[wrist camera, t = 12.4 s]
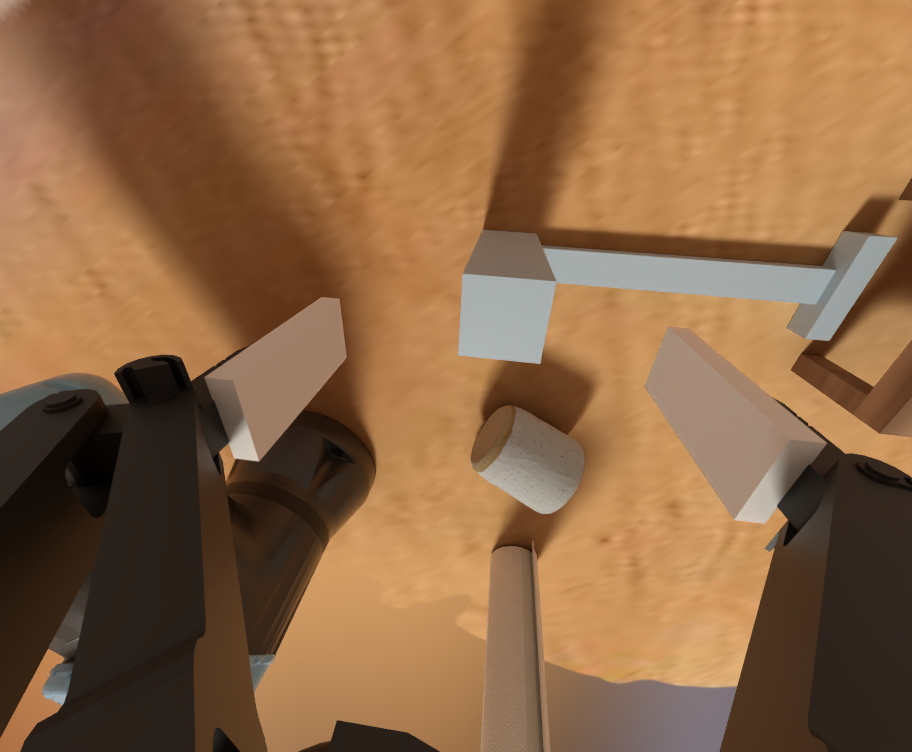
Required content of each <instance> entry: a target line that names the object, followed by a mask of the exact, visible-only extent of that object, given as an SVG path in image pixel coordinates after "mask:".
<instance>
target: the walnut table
mask: <svg viewBox="0 0 912 752" xmlns="http://www.w3.org/2000/svg"><path fill="white" fill-rule="evenodd" d="M899 200H911V201H912V180H911V181H910V183H909V184H908V186H907V187H906V189H905V191H904V192H903V194H902V195H901V197H900V199H899ZM791 371H793V372H794V373H796V374H797V375H798V376H800V377H801V378H803V379H804V380H805V381H807V382H808V383H810V384H811V385H812V386H814V387H815V388H817V389H818V390H819V391H821V392H822V393H824V394H825V395H826V396H828V397H829V398H831V399H832V400H833V401H835V402H836V403H838V404H839V405H840V406H842V407H843V408H845V409H846V410H847V411H849V412H850V413H852V414H853V415H854V416H856V417H857V418H859V419H860V420H861V421H863V422H864V423H866V424H867V425H868V426H870V427H871V428H873V429H874V430H875V431H877V432H878V433H880V434H888V435H897V436H906V437H912V340H911V342H910V343H909V344H908V345H907V347H906V348H905V349H904V350H903V352H902V353H901V354H900V355H899V357H898V358H897V359H896V360H895V362H894V363H893V364H892V365H891V367H890V368H889V369H888V371H887V372H886V373H885V374H884V376H883V377H882V378H881V379H880V381H879V382H878V383H877V384H876V386H875V387H873V386H871V385H869V384H868V383H866V382H864V381H863V380H861V379H859V378H858V377H856V376H854V375H853V374H851V373H849V372H848V371H846V370H844V369H843V368H841V367H839V366H838V365H836V364H834V363H833V362H831V361H829V360H828V359H826V358H824V357H823V356H817V355H807V354H801V355H800V357H799V358H798V360H797V361H796V363H795V365H794V366H793V368H792V369H791Z"/></svg>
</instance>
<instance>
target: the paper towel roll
mask: <svg viewBox="0 0 912 752" xmlns="http://www.w3.org/2000/svg"><path fill="white" fill-rule="evenodd" d="M485 660H486V661H485V678H484V679H485V680H484V699H483V718H482V740H481V752H550V739H549V725H548V710H547V695H546V681H545V667H544V652H543V637H542V623H541V609H540V594H539V580H538V565H537V554H536V552H535V550H534V542H533V540H532V553H531V552H530V551H529V550H526V549H524V548H522V547H516V546H504V547H501V548H498V549H496V550H495V551H494V552H493V553H492V555H491V560H490V579H489V599H488V619H487V639H486V658H485Z"/></svg>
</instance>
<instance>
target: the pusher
mask: <svg viewBox="0 0 912 752" xmlns="http://www.w3.org/2000/svg"><path fill="white" fill-rule="evenodd" d="M896 240H897V237H891V236H885V235H880V234H874V233H867V232H852V231H843V232H842V233H841V235H840V237H839V239H838V240H837V242H836V244H835V246H834V247H833V249H832V251H831V252H830V254H829V256H828V258H827V259H826V261H825V263H824V264H823V266H816V265H802V264H789V263H775V262H762V261H748V260H735V259H721V258H708V257H694V256H681V255H667V254H654V253H640V252H627V251H613V250H600V249H586V248H573V247H559V246H546V245H541V243H540V240H539V238H538V235H537V233H525V232H510V231H496V230H482V233H481V235H480V237H479V239H478V241H477V244H476V246H475V248H474V250H473V252H472V255H471V257H470V259H469V261H468V263H467V266H466V268H465V270H464V272H463V279H462V297H461V314H460V332H459V349H458V355H459V356H469V357H478V358H488V359H498V360H507V361H517V362H526V363H536V364H540V363H541V357H542V352H543V347H544V342H545V337H546V332H547V327H548V322H549V317H550V312H551V307H552V302H553V297H554V292H555V287H556V283H564V284H576V285H588V286H600V287H612V288H624V289H636V290H648V291H660V292H672V293H683V294H695V295H707V296H719V297H731V298H743V299H755V300H767V301H779V302H791V303H801V304H800V306H799V307H798V309H797V311H796V313H795V314H794V316H793V318H792V319H791V321H790V323H789V325H788V326H787V329H789V330H791V331H793V332H794V333H796V334H798V335H800V336H801V337H803V338H805V339H813V340H824V341H830V339H831V338H832V336H833V335H834V333H835V332H836V330H837V329H838V327H839V326H840V324H841V323H842V321H843V320H844V318H845V317H846V315H847V314H848V312H849V311H850V309H851V308H852V306H853V305H854V303H855V302H856V300H857V299H858V297H859V296H860V294H861V293H862V291H863V289H864V288H865V286H866V285H867V283H868V282H869V280H870V279H871V277H872V276H873V274H874V273H875V271H876V270H877V268H878V267H879V265H880V264H881V262H882V261H883V259H884V258H885V256H886V255H887V253H888V252H889V250H890V249H891V247H892V246H893V244H894V243H895V241H896Z"/></svg>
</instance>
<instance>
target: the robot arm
mask: <svg viewBox="0 0 912 752" xmlns="http://www.w3.org/2000/svg"><path fill="white" fill-rule="evenodd" d="M346 358H347V355H346V347H345V339H344V331H343V323H342V315H341V307H340V299H338V298H327V297H321V298H320V299H318V300H317V301H315V302H314V303H312V304H311V305H309V306H308V307H306V308H305V309H303V310H302V311H301V312H299V313H298V314H296V315H295V316H293V317H292V318H290V319H289V320H287V321H286V322H284V323H283V324H281V325H280V326H279V327H277V328H276V329H274V330H273V331H271V332H270V333H268V334H267V335H265V336H264V337H262V338H261V339H260V340H258V341H257V342H255V343H254V344H252V345H250V346H248V347H245V348H243V349H240V350H238V351H236V352H234V353H233V354H231V355H230V356H228V357H227V358H226V360H222V361H221V362H219V363H218V364H216V366H213V367H212V368H210V369H209V370H207V371H206V372H204V373H203V374H201V375H200V376H198V377H197V378H195V379H194V380H192V381H191V380H190V378H189V375H188V373H187V370H186V368H185V365H184V363H183V361H182V359H181V358H180V357H177V356H174V355H158V356H150V357H146V358H142V359H138V360H135V361H132V362H130V363H127V364H125V365H124V366H122V367H120V368H118V370H117V371H116V372H115V373H114V375H115V377H116V378H117V380H118V382H119V384H120V386H121V388H122V390H123V392H124V393H123V392H122V391H120V390H119V389H118V388H117V387H116V386H115V385H114V384H113V383H111V382H110V381H108V380H106V379H105V378H102V377H100V376H97V375H92V374H87V373H71V374H65V375H61V376H57V377H53V378H50V379H46V380H43V381H40V382H37V383H34V384H31V385H27V386H24V387H21V388H18V389H15V390H12V391H9V392H6V393H3V394H0V737H1V736H2V734H3V732H4V730H5V728H6V726H7V724H8V722H9V721H10V719H11V717H12V715H13V713H14V711H15V709H16V708H17V706H18V704H19V702H20V700H21V698H22V696H23V694H24V693H25V690H26V689H27V687H28V685H29V683H30V681H31V679H32V678H33V676H34V674H35V672H36V670H37V668H38V666H39V664H40V662H41V661H42V659H43V657H44V655H45V653H46V651H47V650H48V649H50V650H52V651H54V652H56V653H58V654H59V655H61V656H63V657H64V661H63V662H62V663H61V664H57V665H56V666H55V667H54V668H53V669H52V670H51V671H50V676H49V678H48V679H47V681H46V683H45V684H44V686H43V689H42V694H43V696H44V697H45V698H46V699H52V700H53V701H54V702H57V703H58V704H60V705H62V707H61V708H60V709H59V711H58V712H57V713H55V714H53V715H52V716H50V717H48V718H46V719H45V720H43V721H41V722H39V723H37V725H36V726H35V727H34V729H33V730H32V731H31V733H30V734H29V736H28V737H27V738H26V740H25V741H24V744H23V747H22V749H21V752H268V751H267V746H266V742H265V738H264V734H263V731H262V728H261V725H260V721H259V718H258V714H257V710H256V704H255V698H254V692H255V690H256V688H257V686H258V684H259V683H260V681H261V679H262V677H263V675H264V673H265V672H266V670H267V668H268V666H269V664H271V663H272V662H273V661H274V659H275V656H276V652H277V650H278V648H279V646H280V644H281V642H282V640H283V638H284V635H285V633H286V631H287V629H288V627H289V625H290V623H291V620H292V618H293V616H294V614H295V612H296V610H297V608H298V606H299V604H300V601H301V599H302V597H303V595H304V593H305V591H306V589H307V587H308V584H309V582H310V580H311V578H312V576H313V574H314V572H315V570H316V567H317V565H318V563H319V561H320V559H321V557H322V554H323V552H324V550H325V548H326V546H327V544H328V542H329V540H330V539H331V538H332V537H333V535H334V534H335V533H336V532H337V531H338V530H339V529H340V528H341V527H342V526H343V525H344V524H345V523H346V522H347V521H348V520H349V519H350V518H351V516H352V515H353V514H354V513H355V512H356V511H357V510H358V509H359V508H360V507H361V506H362V505H363V503H364V502H365V500H366V499H367V497H368V494H369V492H370V490H371V487H372V485H373V483H374V479H375V467H374V463H373V460H372V458H371V455H370V453H369V452H368V450H367V448H366V447H365V446H364V444H363V443H362V442H361V441H360V440H359V439H358V438H357V437H356V436H355V435H354V434H353V433H352V432H351V431H349V430H348V429H347V428H345V427H344V426H342V425H341V424H339V423H337V422H335V421H334V420H332V419H329V418H327V417H325V416H322V415H319V414H316V413H312V412H308V411H302V410H303V409H304V408H305V407H306V405H307V404H308V403H309V402H310V401H311V400H312V398H313V397H314V396H315V395H316V394H317V392H318V391H319V390H320V389H321V388H322V386H323V385H324V384H325V383H326V382H327V381H328V379H329V378H330V377H331V376H332V375H333V373H334V372H335V371H336V370H337V369H338V367H339V366H340V365H341V364H342V363H343V362H344V360H345V359H346ZM645 388H646V390H647V391H648V393H649V394H650V396H651V397H652V399H653V400H654V402H655V403H656V405H657V406H658V408H659V409H660V410H661V412H662V413H663V415H664V416H665V418H666V419H667V421H668V422H669V424H670V425H671V427H672V428H673V430H674V431H675V433H676V434H677V436H678V437H679V439H680V440H681V442H682V443H683V445H684V446H685V448H686V449H687V451H688V452H689V454H690V455H691V457H692V458H693V460H694V461H695V463H696V464H697V466H698V467H699V468H700V470H701V471H702V473H703V474H704V476H705V477H706V479H707V480H708V482H709V483H710V485H711V486H712V488H713V489H714V491H715V492H716V494H717V495H718V497H719V498H720V500H721V501H722V503H723V504H724V506H725V507H726V509H727V510H728V512H729V513H730V515H731V516H732V518H733V519H734V520H739V521H748V522H756V523H764V524H765V523H766V521H767V520H768V519H769V518H770V516H771V515H772V514H773V512H774V511H775V510H776V509H777V507H778V508H779V509H780V511H781V512H782V513H783V514H784V515H785V517H786V518H787V519H788V521H787V522H786V523H785V524H784V526H783V527H782V528H781V529H780V530H779V532H778V533H777V534H776V535H775V537H774V538H773V539H772V540H771V541H770V543H769V544H768V545H767V546H766V548H765V549H766V550H768V551H771V550H772V549H773V548H775V550H774V553H773V557H772V561H771V564H770V568H769V572H768V575H767V579H766V583H765V586H764V590H763V594H762V598H761V601H760V605H759V609H758V612H757V616H756V620H755V623H754V627H753V631H752V634H751V638H750V642H749V645H748V649H747V653H746V656H745V660H744V664H743V668H742V671H741V675H740V679H739V682H738V686H737V690H736V693H735V697H734V701H733V705H732V708H731V712H730V715H729V719H728V723H727V727H726V730H725V734H724V738H723V741H722V745H721V749H720V752H912V478H911V477H910V476H909V475H907V474H905V473H904V472H902V471H900V470H899V469H897V468H895V467H893V466H891V465H889V464H886V463H884V462H882V461H880V460H877V459H873V458H870V457H867V456H864V455H858V454H852V453H850V454H845V453H844V452H842V451H841V450H840V449H839V448H838V447H836V446H835V445H834V444H833V443H831V442H830V441H829V440H828V439H827V438H825V437H824V436H823V435H822V434H820V433H819V432H818V431H817V430H815V429H814V428H813V427H812V426H808V423H807V422H806V421H804V420H803V419H802V418H801V417H797V414H796V413H795V412H793V411H792V410H791V409H790V408H788V407H787V406H786V405H785V404H783V403H782V402H780V401H778V400H776V399H774V398H772V397H771V396H769V395H768V394H767V393H766V392H765V391H763V390H762V389H761V388H760V387H759V386H757V385H756V384H755V383H754V382H753V381H751V380H750V379H749V378H748V377H746V376H745V375H744V374H743V373H742V372H740V371H739V370H738V369H737V368H736V367H734V366H733V365H732V364H731V363H730V362H728V361H727V360H726V359H725V358H723V357H722V356H721V355H720V354H719V353H717V352H716V351H715V350H714V349H713V348H711V347H710V346H709V345H708V344H707V343H705V342H704V341H703V340H702V339H700V338H699V337H698V336H697V335H696V334H694V333H693V332H692V331H691V330H690V329H688V328H677V327H667V330H666V333H665V335H664V338H663V340H662V343H661V346H660V348H659V351H658V353H657V356H656V359H655V361H654V364H653V366H652V369H651V372H650V374H649V377H648V379H647V382H646V385H645ZM228 443H229V445H230V448H231V451H232V453H233V456H234V458H235V462H234V464H233V466H232V469H231V471H230V473H229V476H228V478H227V480H226V482H225V475H224V468H223V461H222V458H221V456H220V453H219V452H220V451H221V450H222V449H223V448H224V447H225V446H226V445H227V444H228ZM299 752H439V751H438V750H436V749H434V748H433V747H431V746H429V745H428V744H426V743H424V742H423V741H420V740H419V739H417V738H416V737H414V736H412V735H411V734H409V733H406V732H400V731H395V730H388V729H384V728H378V727H372V726H366V725H361V724H355V723H350V722H344V721H338V720H337V722H336V726H335V729H334V732H333V736H332V739H331V741H328V742H323V743H319V744H317V745H314V746H311V747H309V748H306V749H303V750H301V751H299Z"/></svg>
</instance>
